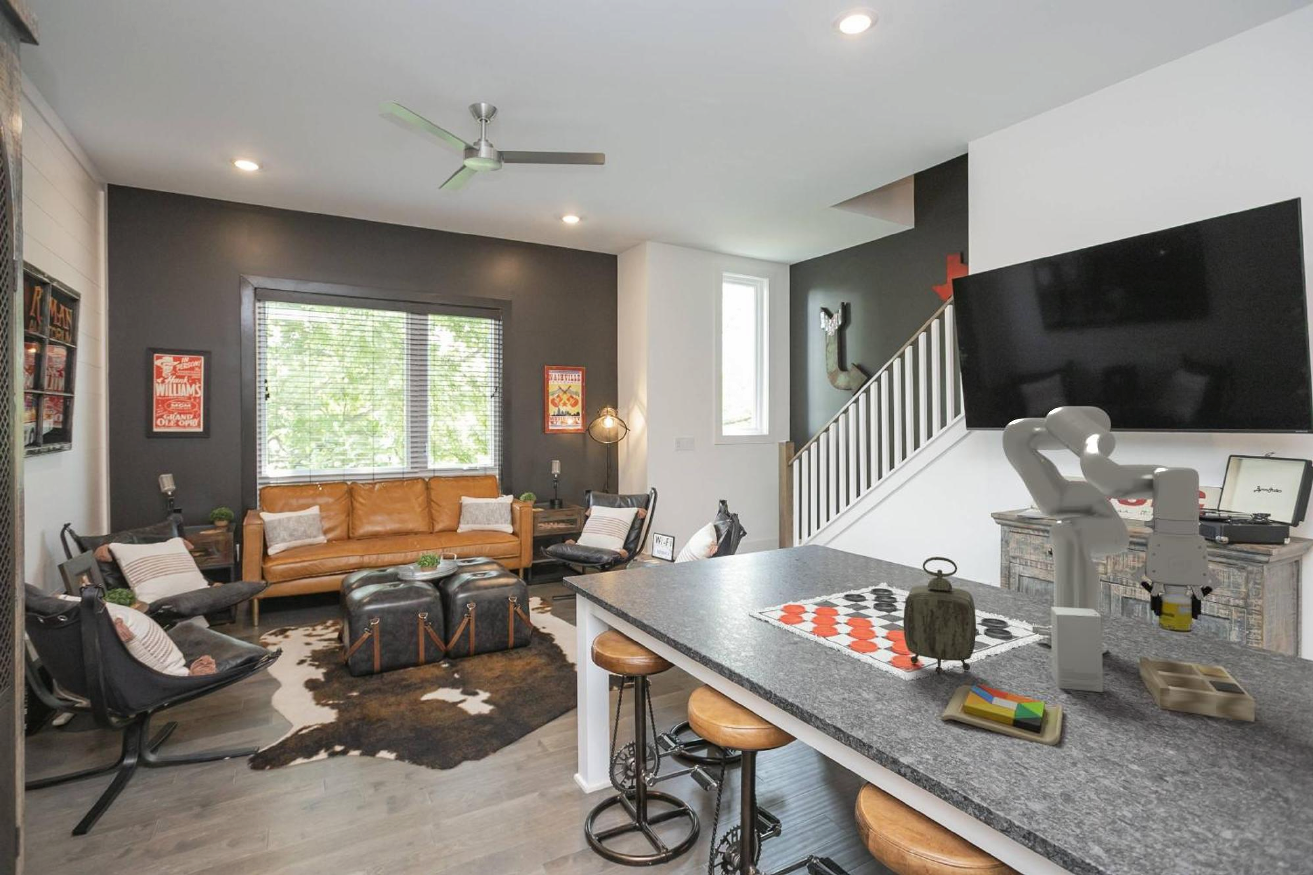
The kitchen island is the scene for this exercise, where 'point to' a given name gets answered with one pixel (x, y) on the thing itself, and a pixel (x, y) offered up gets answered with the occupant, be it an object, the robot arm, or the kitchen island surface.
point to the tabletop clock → (940, 620)
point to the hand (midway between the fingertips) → (1175, 615)
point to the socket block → (1196, 689)
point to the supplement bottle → (1175, 610)
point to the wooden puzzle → (1005, 713)
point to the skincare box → (1077, 649)
